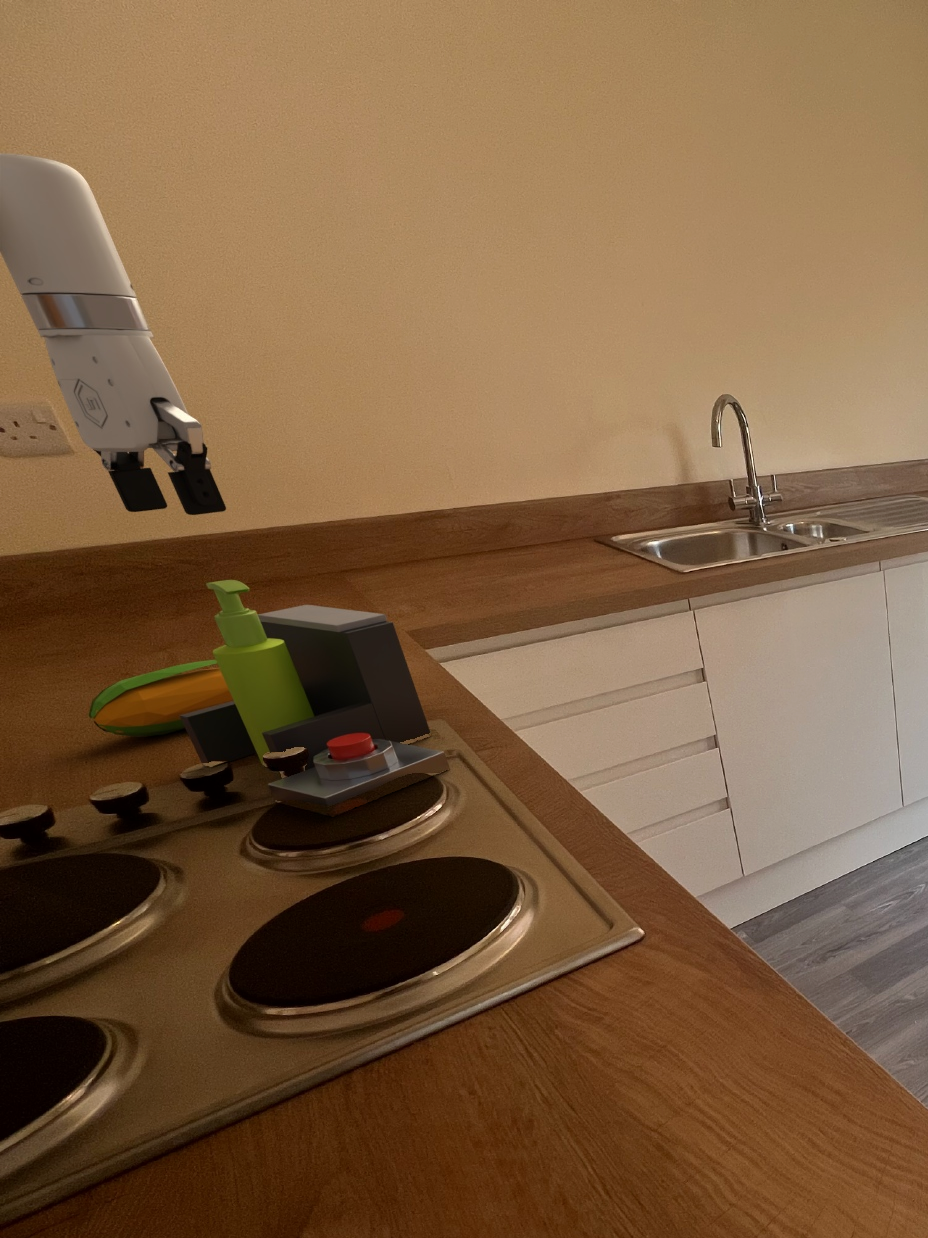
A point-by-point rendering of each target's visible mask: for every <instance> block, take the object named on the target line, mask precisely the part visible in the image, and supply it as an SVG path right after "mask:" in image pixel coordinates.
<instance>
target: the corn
mask: <svg viewBox="0 0 928 1238" xmlns="http://www.w3.org/2000/svg"><path fill="white" fill-rule="evenodd" d="M212 665H218V664H217V662H216V659H209V660H200V661H194V662H189V663H183V664H177V665H173V666H170V667H169V666H168V667H166V668H162V669H158V670H154V671H151V672H147V673H143V674H140V675H136V676H132V677H129V678H125V679H121V680H119V681H118V682H115V683H113V684H112V685H109V686H108V687H106V688H104V689H102V690H101V691H100V692H99V693H98V694H97V695H96V696H95V697H94V698H93V699H92V701H91V703H90V706H89V712H88V716H89V720H91V719H92V720H93V723H94V725H95V726H97V727H98V729H100V730H101V731H103V732H105V733H111V734H113V735H117V736H126V737H135V738H141V737H143V738H144V737H151V736H152V737H153V736H162V735H163V736H164V735H167V734H171V733H174V732H175V733H176V732H178V731H182V730H186V729H185V727H184V724H183V722H182V720H181V718H180V715H183V714H187V713H190V712H194V711H198V710H201V709H205V708H209V707H212V706H216V705H220V704H223V703H227V702H231V701H234V700H233V698H232V695H231V693H230V691H229V689H228V686H227V684H226V682H225V680H224V677H223V675H222V673H221V671H220V668H219V667H214V668H205V667H207V666H212ZM203 667H204V669H203ZM199 668H202V669H199Z"/></svg>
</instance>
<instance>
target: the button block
mask: <svg viewBox="0 0 928 1238" xmlns="http://www.w3.org/2000/svg"><path fill="white" fill-rule="evenodd" d="M372 742H373V744H374V747H375V749H376V750H374V751H373V752H371V753H368V754H365V755H363V756H359V757H354V758H349V759H337V760H334V759H332V756H331V754H330V751H329V749H326V750H323V751H322V752H320V753H319V754H317V755H315V756H314V757H313V759H314V765H315V767H314V768H311V769H308V770H305V771H303V772H300V773H297V774H294V775H291V776H289V777H286V778H283V779H282V778H281V779H280V778H279V779H277V780H275V781H272V782H269V783H267V786H268V789H269V790H270V793H271V795H272V797H273V800H274V801H275V800H277V801H288V800H298V801H302V802H310V803H317V804H319V805H324V806H332V805H335V804H337V803H341V802H343V801H345V800H347V799H349V798H352V797H355V796H357V795H359V794H362V793H365V792H367V791H369V790H372V789H374V788H376V787H379V786H381V785H383V784H385V783H387V782H389V781H392V780H394V779H396V778H398V777H402V776H405V775H407V774H412V773H440V772H442V771H445V770H448V769H450V770H451V767H450V765H449V761H448V759H447V756H446V753H445V752H444V751H442V750H438V749H432V748H427V747H422V746H417V745H413V744H410V745H407V744H402V743H397V742H392V741H387V740H382V739H372Z"/></svg>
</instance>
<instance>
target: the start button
mask: <svg viewBox="0 0 928 1238" xmlns="http://www.w3.org/2000/svg"><path fill="white" fill-rule="evenodd" d="M327 746H328V749H329V751H330V754H331V756H332V759H334V760H337V759H349V758H354V757H359V756H363V755H365V754H368V753H371V752H373V751H374V750H376V749H375V747H374V744H373V742H372V739H371V736H370V735H369V734H367V733H354V734H347V735H343V736H339V737H336V738H334V739H332V740H330V741H328V742H327Z"/></svg>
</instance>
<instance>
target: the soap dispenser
mask: <svg viewBox="0 0 928 1238" xmlns="http://www.w3.org/2000/svg"><path fill="white" fill-rule="evenodd" d="M205 585H206V588H207V589H208V590H213V592H214V595H215V597H216V599H217V601H218V603H219V605H220V608H221V610H220V611H219V612H218V613H217V614H215V615H214V616H213V617H214V620H215V623H216V625H217V627H218V630H219V632H220V635H221V637H222V639H223V641H224V643H225V644H224V645H221V646H219V647H216V648H214V649H213V650H212V655H213V657H214V660H216V662H217V664H216V665H217V666H218V668H220V671H221V673H222V675H223V677H224V680H225V682H226V684H227V686H228V689H229V691H230V693H231V695H232V698H233V700H234V702H235V705H236V707H237V709H238V711H239V714H240V716H241V718H242V720H243V723H244V725H245V727H246V729H247V732H248V734H249V736H250V738H251V741H252V743H253V745H254V747H255V750H256V752H257V753H256V754H257V757H258V759H259V761H260V763H261V765H262V766H263V755H264V754H265V753H267V752H270V751H269V749H268V746H267V744H266V742H265V739H264V737H263V735H262V733H263V732H266V731H269V730H273V729H276V728H279V727H282V726H286V725H289V724H292V723H295V722H299V721H302V720H305V719H308V718H312V717H315V716H314V714H313V711H312V709H311V706H310V704H309V701H308V699H307V697H306V694H305V692H304V689H303V687H302V684H301V682H300V679H299V677H298V674H297V672H296V669H295V667H294V664H293V662H292V659H291V657H290V654H289V652H288V649H287V647H286V644H285V642H284V640H281V639H271V638H267V636H266V634H265V631H264V629H263V627H262V624H261V622H260V619H259V617H258V615H259V614H258V612H257V611H256V610H255V609H250V608H249V607H244V605H243V603H242V600H241V598H240V595H239V594H242V593H249V592H250V587H249V586H247V584H245V583H243V582H241V581H239V580H237V579H224V580H218V581H212V582H206V583H205Z"/></svg>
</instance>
